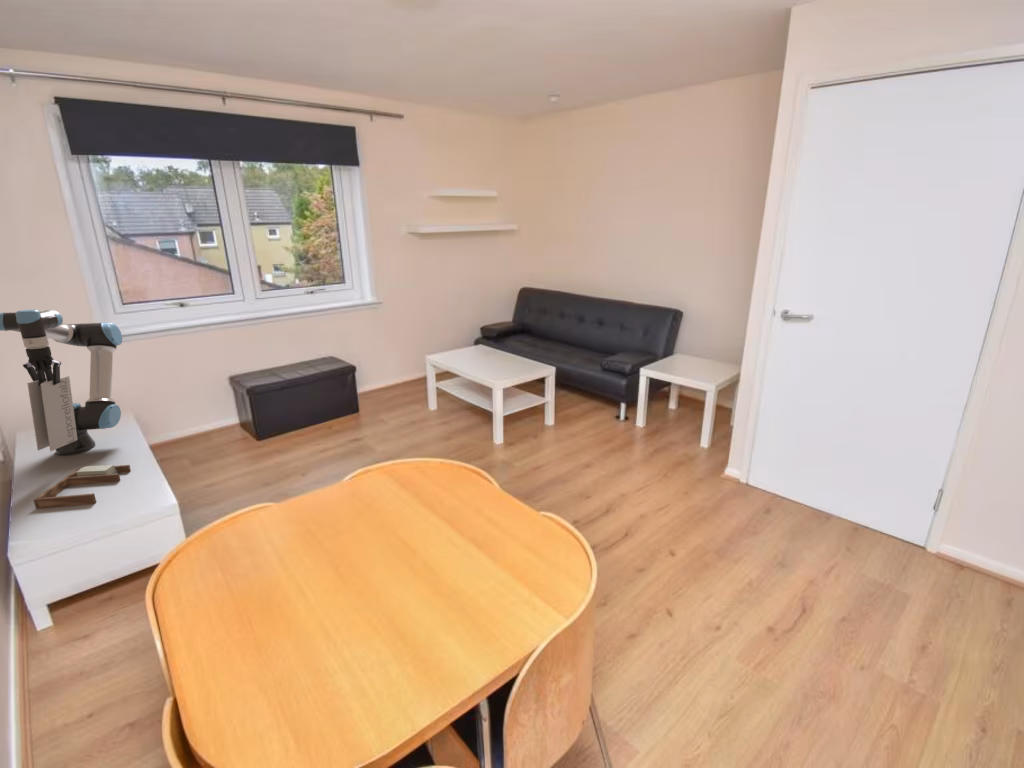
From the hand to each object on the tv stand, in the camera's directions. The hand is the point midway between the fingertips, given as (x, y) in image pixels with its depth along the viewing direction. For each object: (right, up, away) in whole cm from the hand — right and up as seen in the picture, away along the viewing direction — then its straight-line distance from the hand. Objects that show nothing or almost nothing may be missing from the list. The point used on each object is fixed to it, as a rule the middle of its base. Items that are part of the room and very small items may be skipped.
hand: (52, 400), depth 216 cm
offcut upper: (+14, -33, +6) cm, 37 cm away
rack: (+17, -38, -2) cm, 42 cm away
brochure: (-3, -20, +6) cm, 21 cm away
